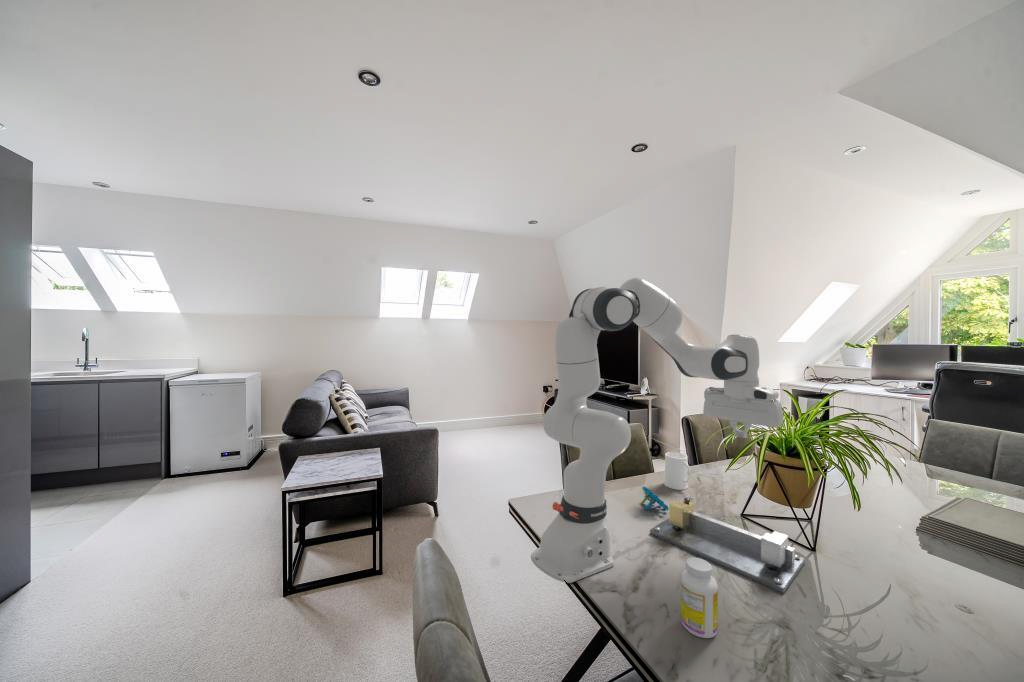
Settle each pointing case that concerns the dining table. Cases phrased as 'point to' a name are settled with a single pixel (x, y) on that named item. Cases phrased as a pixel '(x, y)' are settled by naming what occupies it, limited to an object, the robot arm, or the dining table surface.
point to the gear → (652, 499)
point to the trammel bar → (748, 539)
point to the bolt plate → (729, 555)
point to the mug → (676, 471)
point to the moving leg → (680, 512)
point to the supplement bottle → (699, 598)
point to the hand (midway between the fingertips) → (740, 436)
